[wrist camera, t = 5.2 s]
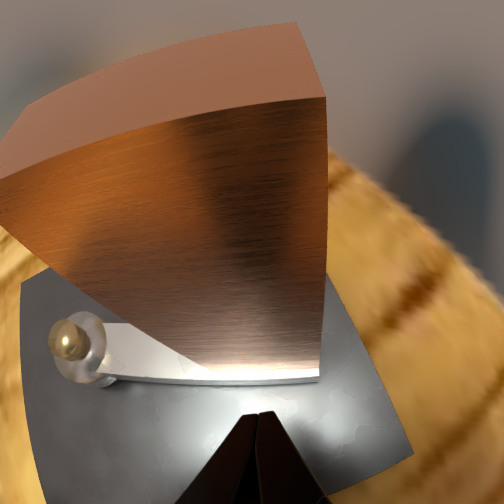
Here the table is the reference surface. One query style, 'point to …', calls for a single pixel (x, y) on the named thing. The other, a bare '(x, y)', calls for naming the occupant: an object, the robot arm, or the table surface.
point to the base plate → (191, 413)
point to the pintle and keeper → (68, 340)
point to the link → (184, 209)
